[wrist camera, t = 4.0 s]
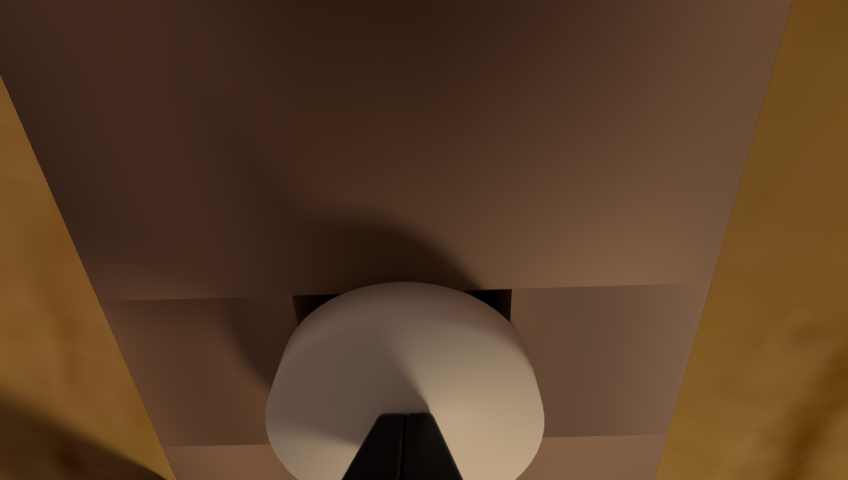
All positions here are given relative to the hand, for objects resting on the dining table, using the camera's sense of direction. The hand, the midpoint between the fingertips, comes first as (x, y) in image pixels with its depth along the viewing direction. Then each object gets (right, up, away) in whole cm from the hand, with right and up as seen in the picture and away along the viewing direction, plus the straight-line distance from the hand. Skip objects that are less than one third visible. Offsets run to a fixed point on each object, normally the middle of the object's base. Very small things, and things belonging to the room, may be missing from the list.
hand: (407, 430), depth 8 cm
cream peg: (0, +3, +5) cm, 6 cm away
